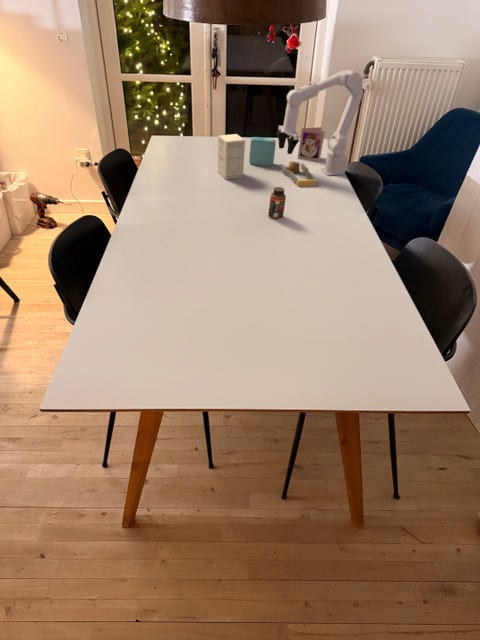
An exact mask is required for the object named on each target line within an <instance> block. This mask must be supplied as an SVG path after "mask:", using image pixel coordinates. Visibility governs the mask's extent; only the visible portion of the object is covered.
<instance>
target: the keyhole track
mask: <svg viewBox="0 0 480 640" xmlns="http://www.w3.org/2000/svg"><path fill="white" fill-rule="evenodd" d="M300 170H301V171H302V172H303V173H304V175H305V176H304V177H305V179H299V178H298V177H297V176H296V174H294V173H293V172H291V171H289V170H288V169H287V168H286V167H285V165H284V164H282V163H280V164H279V171H280V172H281V173H282V174H283V175H284V176H285V177H288V178H289V179H290V180H291V181H292V182H293V183H294V184H295V186H296V187H309V186H310V187H312V186H315V187H316V186H317V185H316V184H317V179H316V177H314V176H313V175H312V174H311V173H310V172H309V168H308V166H307V165H305V164H304V163H300Z"/></svg>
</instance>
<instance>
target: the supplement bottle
mask: <svg viewBox="0 0 480 640" xmlns="http://www.w3.org/2000/svg"><path fill="white" fill-rule="evenodd" d="M269 197H270V199H269V205H268V206H269V207H268V213H267V214H268V217H269V218H271V219H274V220H281V219H282V218H283V217H284V213H285V205H286V198H287V196H286V194H285V188H283V187H281V186H275V187H273V192H271V194H270V196H269Z"/></svg>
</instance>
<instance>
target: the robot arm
mask: <svg viewBox="0 0 480 640" xmlns="http://www.w3.org/2000/svg"><path fill="white" fill-rule="evenodd" d="M363 83H364V79H363V77H362V75H361V74H360V73H359V72H356V70H355V71H354V70H353V69H352V68H349V67H348V68H346V69H344V70H339V72H337V73H335V74H333V75H330V76H329V77H327V78H325V79H323V80H321V81H319V82H317V83H315V82H311V81H309V82H307V83H306V84H305V85H303V86H302V87H301V86H300V87H296V89H291V90H290V91H288V93H287V95H286V102H287V104H286V107H285V115H284V120H283V125H278V131H276V135H277V140H278V148H279V149H284V148H285V145H286V140H287V155H292V154H293V152H294V150H295V148H296V146H297V144H298V143H300V139H299V138H300V135H299V134H298V132H297V131H296V129H297V124H298V118H299V112H300V107H301V105H302V104H303V103H304V102H306V101H309V100H311V99H313V98H315V97H317V96H318V95H319V92H321V91H325V90H327V89H329V88H333V87H334V86H336V85H337V86H340V87H345V88H346V89H347V92H348V93H349V97H348V100H347V102H346V104H345V107H344V110H343V112H342V116H341V118H340V121H339V122H338V125H337V128H336V131H334V132H333V134H332V136H331V137H330V138H329V140H328V141H327V148H328V151H327V155H326V161H325V165H324V168H321V170H322V172H324V174H325V175H326V176H341V175H343V176H345V175H346V173H345V172H346V167H347V163H348V155H347V154H346V151H347V143H348V134H349V131H350V128H351V126H352V123H353V121H354V118H355V117H356V113H357V111H358V108H359V106H360V102H361V101H362V98H363V95H364V88H363ZM288 136H289V137H288Z"/></svg>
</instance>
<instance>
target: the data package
mask: <svg viewBox="0 0 480 640" xmlns="http://www.w3.org/2000/svg"><path fill="white" fill-rule="evenodd" d="M275 154H276V139H275V138H272V137H259V136H253V137H251V138H250V146H249V156H248V157H249V158H248V159H249V160H248V162H249V164H250V165H254V166H262V165H263V166H262V167H264V166H266V167H272V166H273V165H274V161H275Z"/></svg>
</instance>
